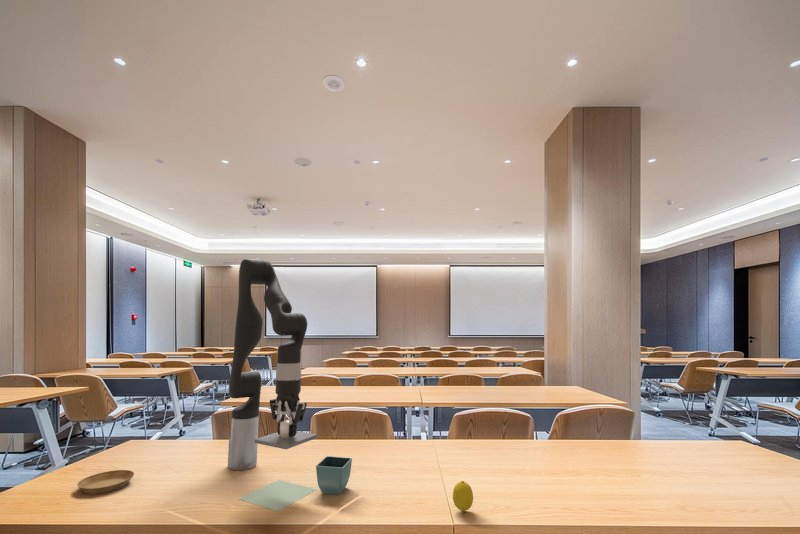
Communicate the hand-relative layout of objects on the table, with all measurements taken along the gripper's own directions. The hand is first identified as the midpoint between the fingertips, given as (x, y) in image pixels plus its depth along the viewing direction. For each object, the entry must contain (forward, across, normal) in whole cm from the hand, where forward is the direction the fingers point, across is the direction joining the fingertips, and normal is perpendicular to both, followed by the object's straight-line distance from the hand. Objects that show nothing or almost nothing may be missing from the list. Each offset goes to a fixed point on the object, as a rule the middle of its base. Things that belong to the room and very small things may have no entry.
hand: (286, 435), depth 121 cm
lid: (+1, 0, 0) cm, 1 cm away
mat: (+17, -2, -1) cm, 18 cm away
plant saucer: (+18, -56, -23) cm, 62 cm away
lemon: (+18, +50, +17) cm, 56 cm away
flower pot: (+18, +11, +9) cm, 23 cm away
